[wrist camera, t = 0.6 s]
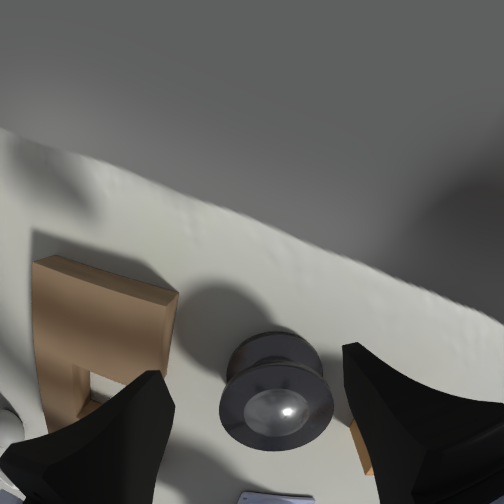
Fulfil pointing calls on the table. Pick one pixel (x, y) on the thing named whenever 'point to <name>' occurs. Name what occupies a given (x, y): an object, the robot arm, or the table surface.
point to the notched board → (93, 333)
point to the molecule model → (10, 429)
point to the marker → (7, 480)
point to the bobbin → (275, 393)
